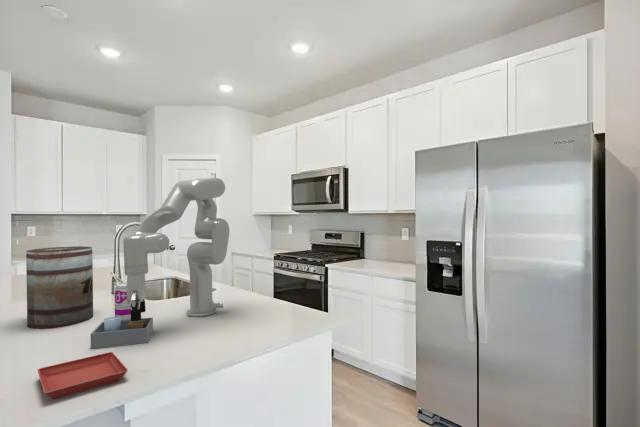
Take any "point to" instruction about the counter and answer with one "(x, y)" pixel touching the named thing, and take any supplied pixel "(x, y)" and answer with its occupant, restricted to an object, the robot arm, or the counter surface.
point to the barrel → (59, 286)
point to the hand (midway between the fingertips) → (138, 316)
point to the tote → (121, 335)
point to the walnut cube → (136, 324)
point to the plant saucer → (81, 375)
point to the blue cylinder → (112, 324)
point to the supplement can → (122, 302)
